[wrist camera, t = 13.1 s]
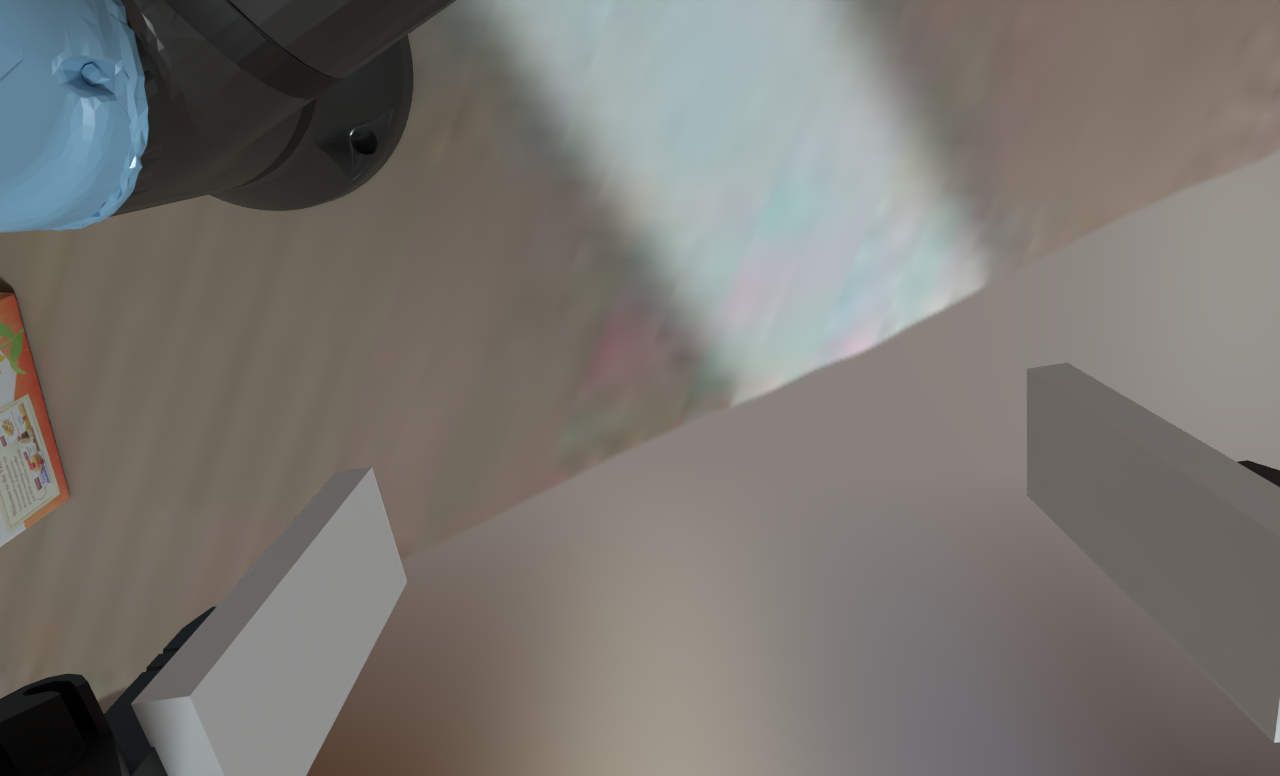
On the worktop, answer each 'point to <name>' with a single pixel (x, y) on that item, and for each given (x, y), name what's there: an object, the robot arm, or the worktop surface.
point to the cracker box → (24, 433)
